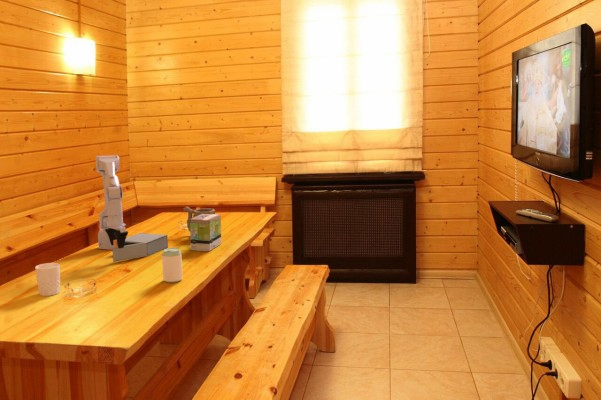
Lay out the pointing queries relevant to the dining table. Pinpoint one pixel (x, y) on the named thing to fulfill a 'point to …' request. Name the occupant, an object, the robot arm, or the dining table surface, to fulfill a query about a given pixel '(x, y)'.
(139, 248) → the grey drawer
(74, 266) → the dining table surface
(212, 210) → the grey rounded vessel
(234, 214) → the dining table surface
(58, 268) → the white cup
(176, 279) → the can
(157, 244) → the carton
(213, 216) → the tea box
